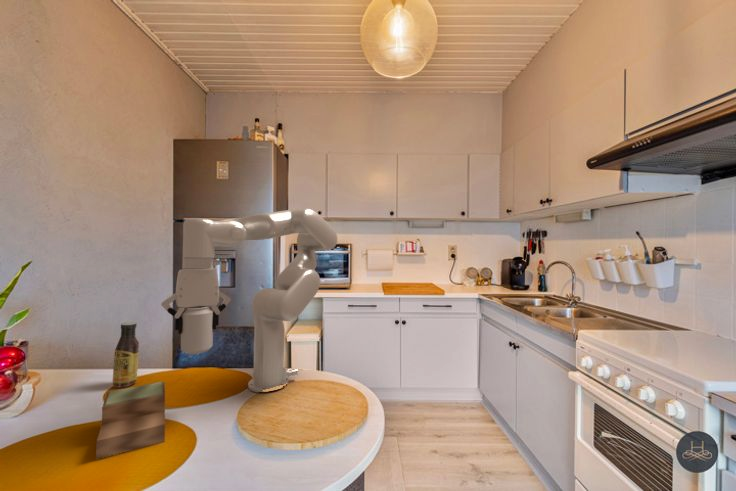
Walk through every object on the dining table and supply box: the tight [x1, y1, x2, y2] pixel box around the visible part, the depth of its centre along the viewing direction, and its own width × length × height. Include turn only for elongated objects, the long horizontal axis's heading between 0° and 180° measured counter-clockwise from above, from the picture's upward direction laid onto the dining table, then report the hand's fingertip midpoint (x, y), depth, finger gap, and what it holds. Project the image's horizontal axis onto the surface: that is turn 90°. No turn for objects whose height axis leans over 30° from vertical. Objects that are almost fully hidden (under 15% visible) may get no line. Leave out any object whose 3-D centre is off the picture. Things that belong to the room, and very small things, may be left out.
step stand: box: [95, 381, 166, 460], centre depth 75 cm, size 12×16×8 cm
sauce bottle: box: [112, 321, 140, 389], centre depth 101 cm, size 7×6×20 cm
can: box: [180, 306, 214, 355], centre depth 84 cm, size 8×8×12 cm
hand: (197, 330), depth 84 cm, fingers closed on can, 7 cm apart
